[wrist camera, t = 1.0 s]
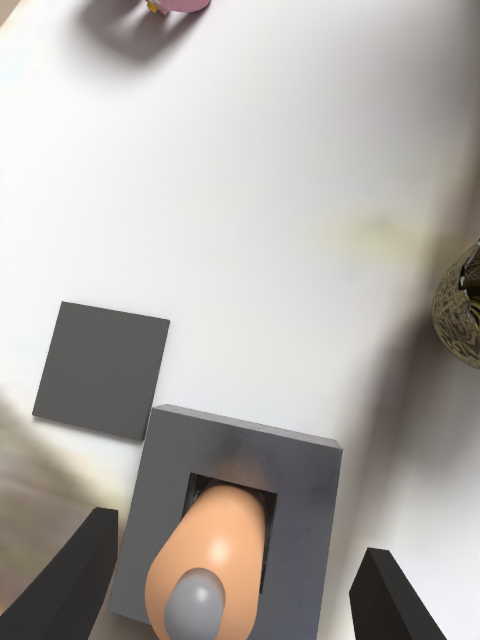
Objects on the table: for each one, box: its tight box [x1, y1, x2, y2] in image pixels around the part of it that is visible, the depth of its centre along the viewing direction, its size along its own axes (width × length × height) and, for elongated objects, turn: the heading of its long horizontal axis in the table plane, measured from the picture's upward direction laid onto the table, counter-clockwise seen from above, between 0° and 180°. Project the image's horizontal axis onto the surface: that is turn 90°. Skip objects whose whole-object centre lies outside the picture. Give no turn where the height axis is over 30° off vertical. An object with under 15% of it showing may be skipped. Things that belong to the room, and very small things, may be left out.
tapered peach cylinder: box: [145, 479, 267, 640], centre depth 16 cm, size 4×4×9 cm
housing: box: [108, 404, 343, 640], centre depth 19 cm, size 11×11×2 cm
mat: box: [32, 301, 170, 441], centre depth 23 cm, size 8×8×1 cm
